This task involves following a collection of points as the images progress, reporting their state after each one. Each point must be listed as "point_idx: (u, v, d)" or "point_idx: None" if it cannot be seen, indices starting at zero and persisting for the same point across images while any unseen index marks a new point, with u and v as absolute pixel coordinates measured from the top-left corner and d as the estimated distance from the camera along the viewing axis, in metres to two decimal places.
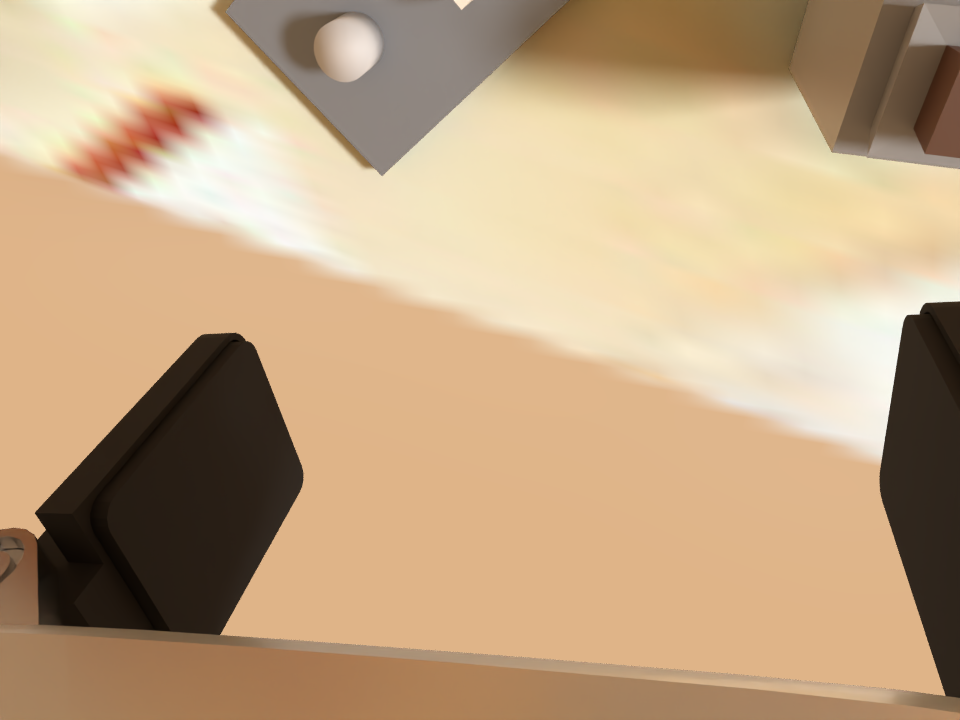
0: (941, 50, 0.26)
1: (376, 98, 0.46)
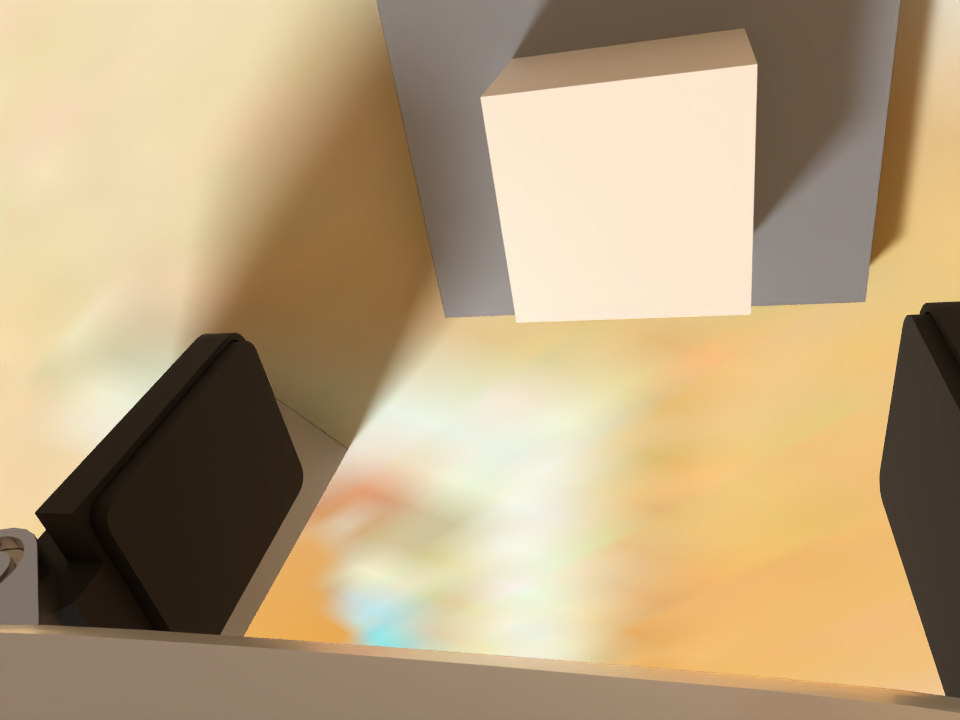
0: None
1: None
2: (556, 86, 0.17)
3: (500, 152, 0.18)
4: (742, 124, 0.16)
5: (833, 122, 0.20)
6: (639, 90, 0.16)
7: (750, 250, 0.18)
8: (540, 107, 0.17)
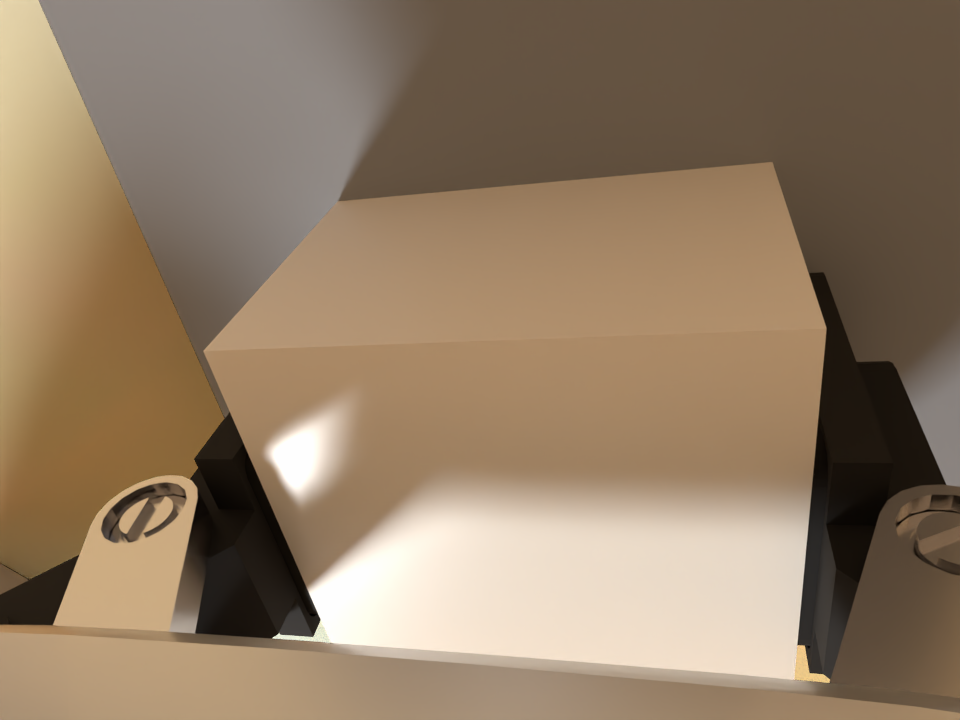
0: None
1: None
2: (362, 337, 0.08)
3: (267, 447, 0.09)
4: (783, 441, 0.07)
5: (938, 330, 0.10)
6: (544, 361, 0.07)
7: (792, 644, 0.09)
8: (332, 377, 0.08)
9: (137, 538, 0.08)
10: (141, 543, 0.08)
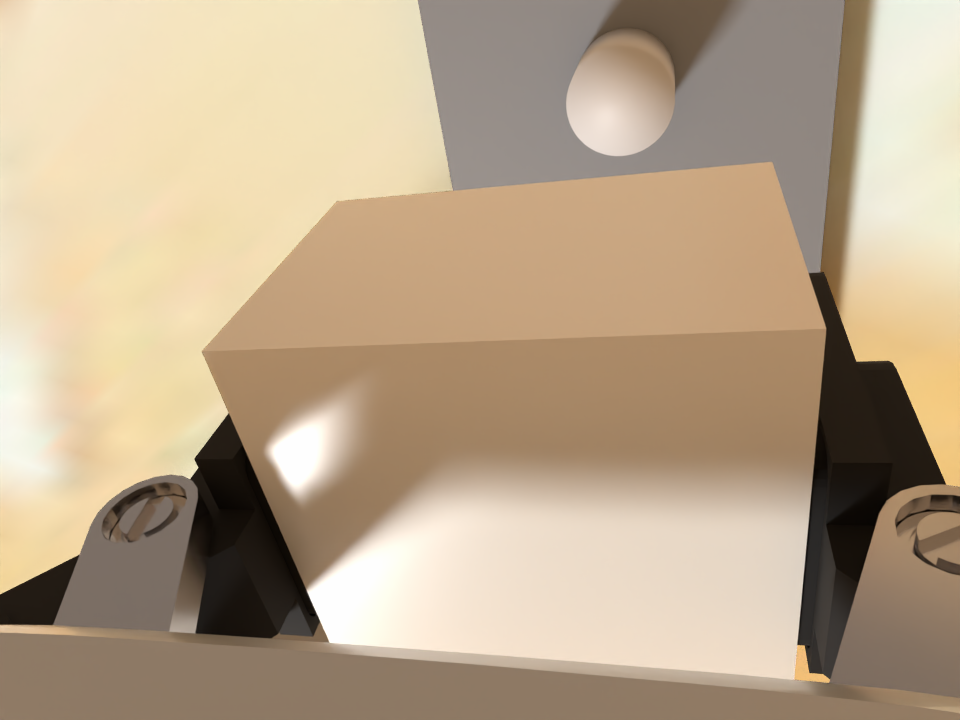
0: None
1: (530, 40, 0.25)
2: (361, 337, 0.07)
3: (266, 448, 0.08)
4: (783, 442, 0.07)
5: None
6: (543, 362, 0.07)
7: (792, 645, 0.09)
8: (331, 378, 0.08)
9: (137, 538, 0.08)
10: (141, 543, 0.08)
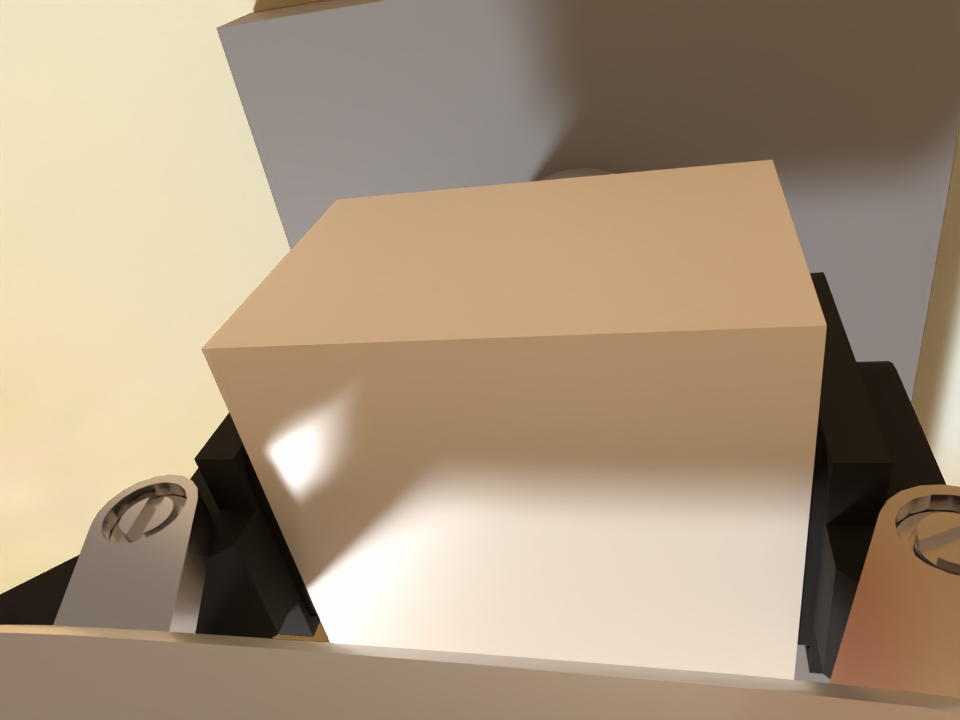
0: None
1: (430, 182, 0.15)
2: (361, 335, 0.07)
3: (265, 446, 0.08)
4: (783, 439, 0.07)
5: None
6: (543, 359, 0.07)
7: (793, 643, 0.09)
8: (331, 375, 0.08)
9: (137, 538, 0.08)
10: (141, 543, 0.08)
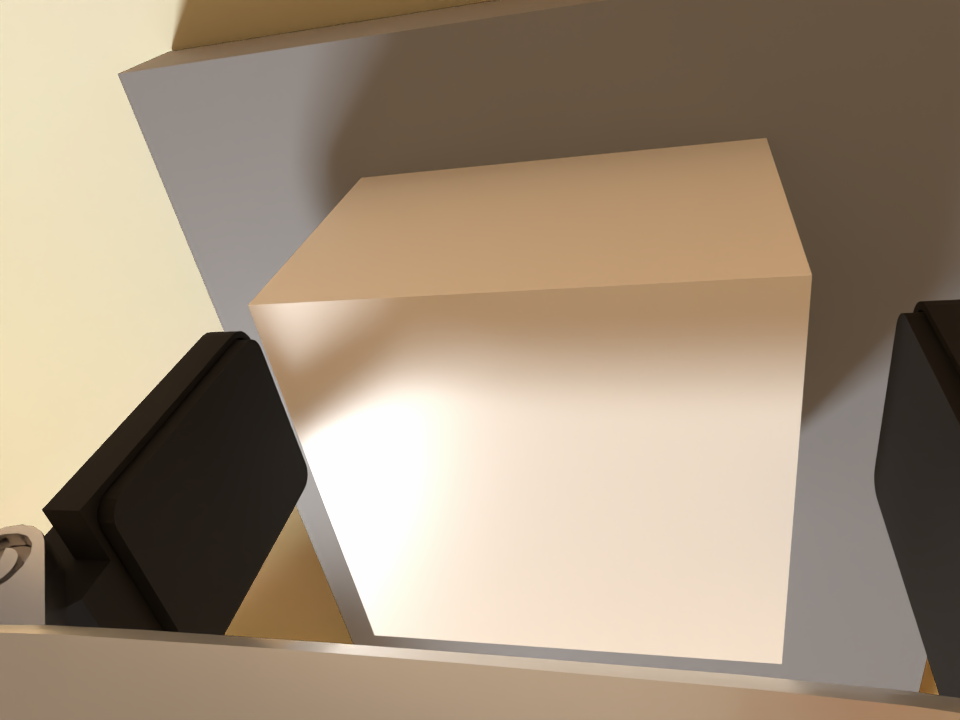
0: None
1: None
2: (394, 291, 0.08)
3: (303, 397, 0.09)
4: (775, 382, 0.08)
5: None
6: (559, 310, 0.08)
7: (784, 577, 0.09)
8: (365, 329, 0.08)
9: None
10: None
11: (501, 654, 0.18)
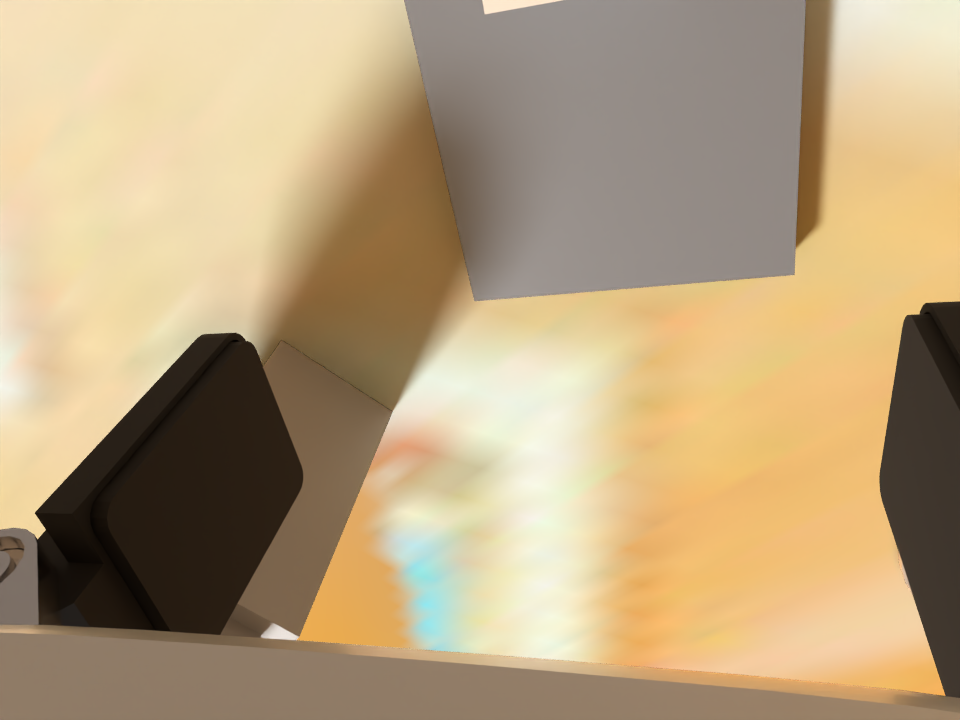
0: None
1: None
2: None
3: None
4: None
5: (761, 146, 0.27)
6: None
7: None
8: None
9: None
10: None
11: (542, 161, 0.29)
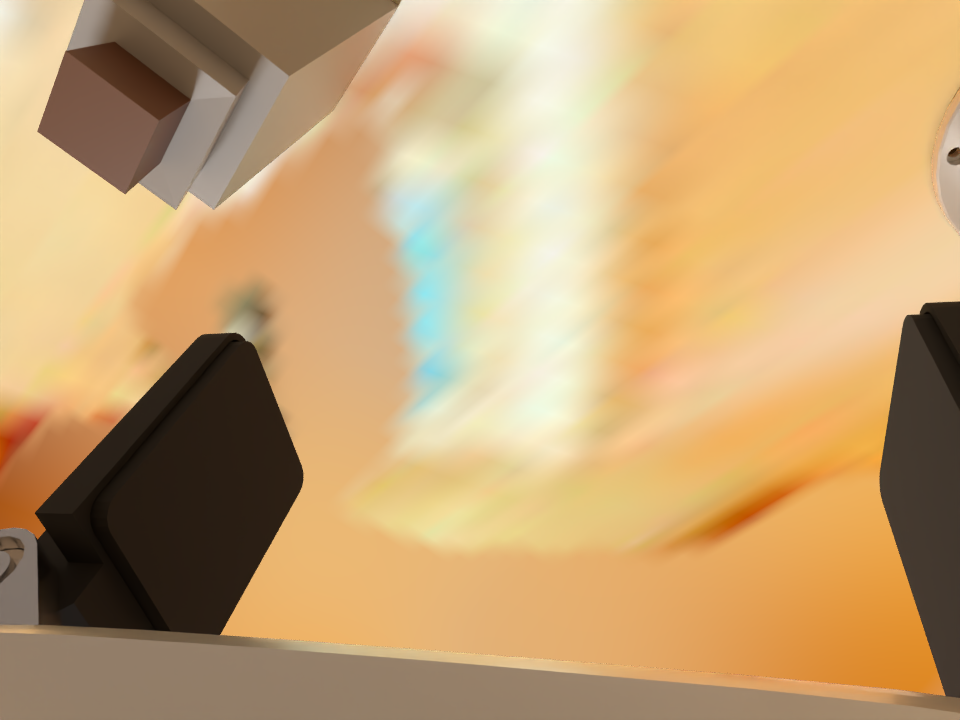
0: (187, 93, 0.25)
1: None
2: None
3: None
4: None
5: None
6: None
7: None
8: None
9: None
10: None
11: None
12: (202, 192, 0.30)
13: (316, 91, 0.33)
